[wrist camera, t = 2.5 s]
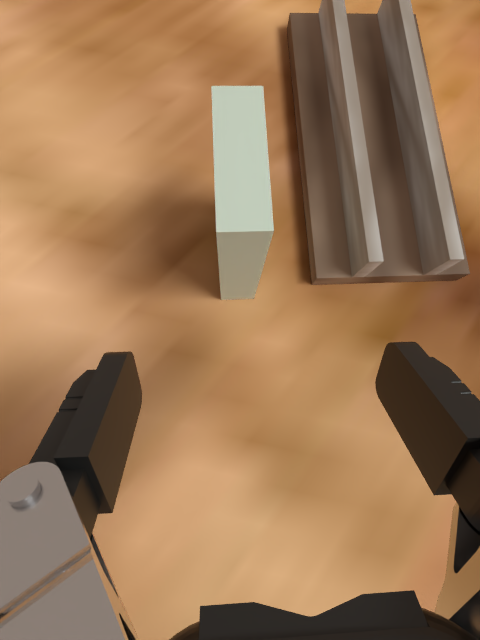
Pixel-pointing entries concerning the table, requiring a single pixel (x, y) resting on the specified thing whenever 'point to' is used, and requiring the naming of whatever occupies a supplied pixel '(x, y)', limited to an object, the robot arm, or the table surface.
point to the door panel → (241, 188)
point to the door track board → (371, 149)
